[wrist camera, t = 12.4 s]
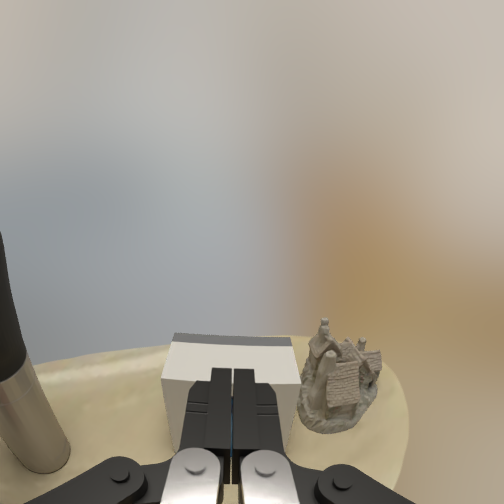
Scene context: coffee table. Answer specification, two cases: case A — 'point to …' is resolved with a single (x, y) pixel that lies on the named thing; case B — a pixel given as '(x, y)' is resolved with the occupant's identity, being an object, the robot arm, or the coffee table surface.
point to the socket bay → (232, 356)
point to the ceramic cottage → (336, 382)
